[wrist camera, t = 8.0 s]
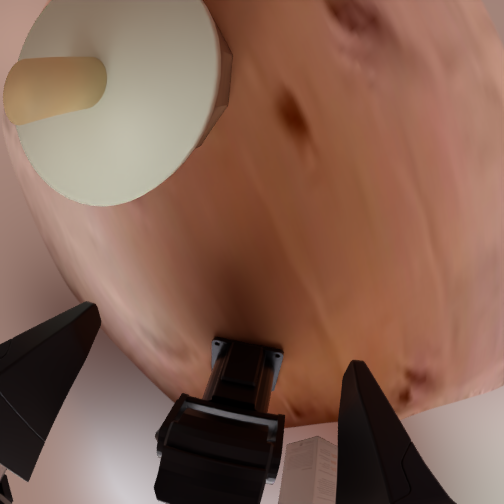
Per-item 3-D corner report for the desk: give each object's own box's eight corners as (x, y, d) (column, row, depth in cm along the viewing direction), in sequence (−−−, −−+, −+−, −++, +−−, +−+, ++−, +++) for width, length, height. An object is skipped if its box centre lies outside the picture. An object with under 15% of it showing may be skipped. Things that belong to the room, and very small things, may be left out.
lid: (220, 203, 16) (167, 273, 10) (45, 184, 18) (-24, 226, 12) (242, -38, 9) (195, -105, 3) (46, 6, 11) (-31, 4, 5)
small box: (285, 443, 36) (275, 508, 27) (318, 434, 34) (311, 505, 25) (317, 458, 38) (311, 516, 29) (348, 450, 36) (345, 512, 27)
